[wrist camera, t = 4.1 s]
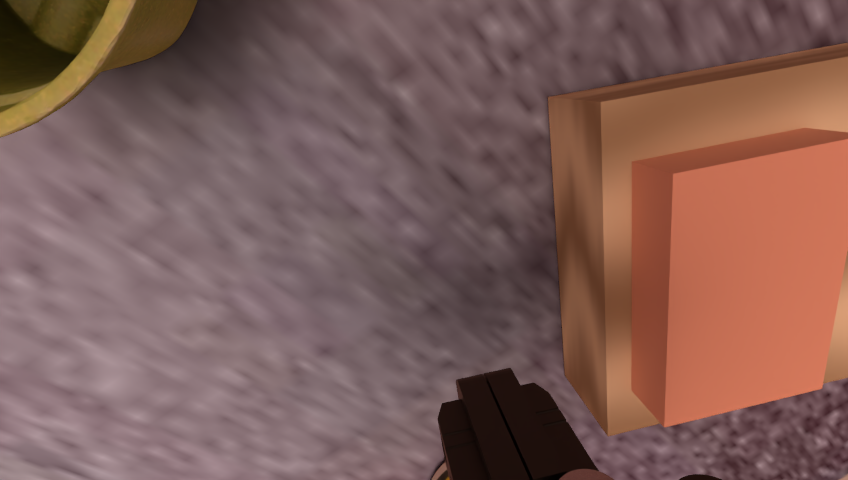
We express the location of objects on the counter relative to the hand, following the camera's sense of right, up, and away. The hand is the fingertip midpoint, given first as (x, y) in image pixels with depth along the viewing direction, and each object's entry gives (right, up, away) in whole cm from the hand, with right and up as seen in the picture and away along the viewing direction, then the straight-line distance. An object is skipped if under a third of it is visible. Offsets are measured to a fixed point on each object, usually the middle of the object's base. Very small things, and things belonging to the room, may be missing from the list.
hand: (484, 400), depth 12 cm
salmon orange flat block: (+9, +3, +4) cm, 10 cm away
